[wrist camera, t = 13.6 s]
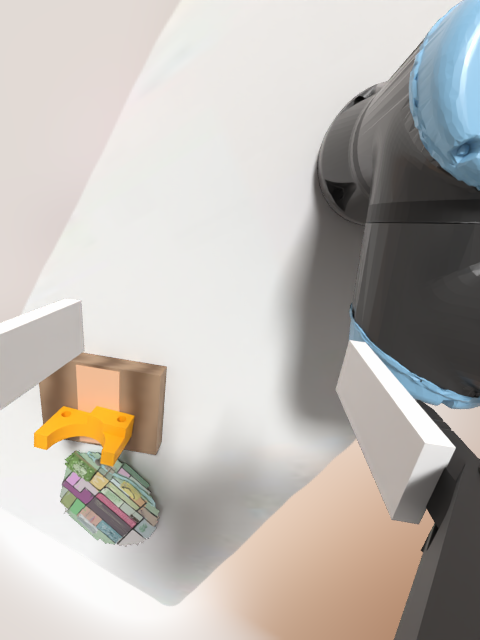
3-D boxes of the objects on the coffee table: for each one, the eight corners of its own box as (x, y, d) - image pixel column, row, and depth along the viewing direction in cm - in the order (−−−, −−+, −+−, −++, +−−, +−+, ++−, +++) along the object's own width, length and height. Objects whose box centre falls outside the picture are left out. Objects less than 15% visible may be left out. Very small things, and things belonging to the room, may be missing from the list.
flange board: (166, 366, 47) (160, 376, 44) (161, 442, 52) (155, 455, 49) (49, 347, 47) (35, 355, 44) (56, 424, 52) (43, 436, 49)
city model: (67, 420, 55) (41, 442, 49) (178, 466, 53) (164, 494, 47) (58, 504, 64) (34, 532, 58) (153, 546, 62) (138, 579, 56)
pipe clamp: (134, 415, 47) (115, 444, 41) (131, 435, 48) (112, 466, 42) (63, 397, 46) (34, 423, 40) (62, 418, 48) (34, 446, 42)
